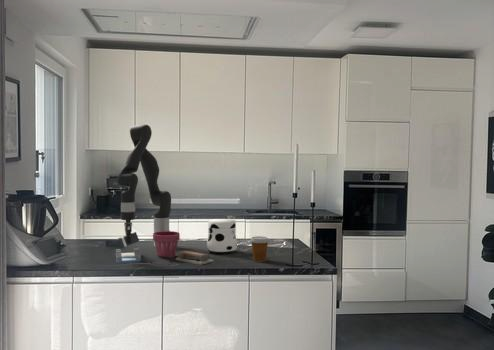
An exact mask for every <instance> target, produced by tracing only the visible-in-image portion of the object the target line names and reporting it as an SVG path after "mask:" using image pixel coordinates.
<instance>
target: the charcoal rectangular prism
mask: <svg viewBox="0 0 494 350" xmlns="http://www.w3.org/2000/svg"><path fill="white" fill-rule="evenodd" d="M117 240H118V243H119V246H120V248H121V249H123V248H126V247H129V246H130V245H133V244H136V243H138V242H140V239H139V237H138V234H137V231H135V232H134V231H133V232H131V243H126V235H124V236H120V237H118V238H117Z"/></svg>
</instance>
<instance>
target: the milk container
mask: <svg viewBox="0 0 494 350" xmlns="http://www.w3.org/2000/svg"><path fill="white" fill-rule="evenodd" d="M207 224H208V229H207V231H208V232H207V233H208V237H207V239H206V248H207V250H208V252H210V253H214V254H230V253H233V252H235V251H237V247H238V240H237V236H236V233H237V227H236V225H237V223H236V220H235V219H230V218H229V219H228V218H214V219H209V220H208V223H207Z"/></svg>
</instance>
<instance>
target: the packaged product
mask: <svg viewBox="0 0 494 350" xmlns="http://www.w3.org/2000/svg"><path fill="white" fill-rule="evenodd" d="M177 254H178V255H177V257H175V261H178V262H184V263H189V264H192V265H199V266H200V265H201V266H202V265H205V264H209V263H212V262H214V259H209V256H210V255H209V254H205V253H201V252H197V251H193V250H192V251H190V250H187V249H186V250H181V251H179V252H178V253H177Z"/></svg>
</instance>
